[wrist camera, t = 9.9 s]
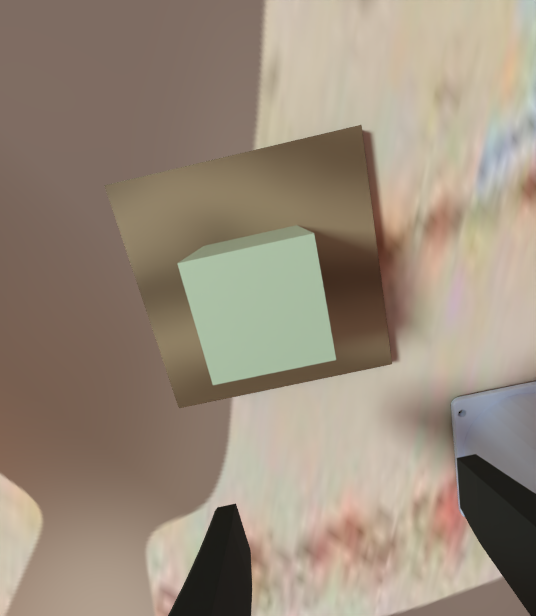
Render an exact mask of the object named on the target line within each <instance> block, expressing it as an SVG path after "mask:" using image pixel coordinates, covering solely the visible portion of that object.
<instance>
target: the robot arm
mask: <svg viewBox="0 0 536 616" xmlns="http://www.w3.org/2000/svg"><path fill="white" fill-rule="evenodd" d="M461 410H463V411H462V412H461V413H459V414H458V412H459V411H461ZM451 414H452V426H453V439H454V452H455V465H456V478H457V490H458V503H459V511H460V512H461V514H462V515H463V516H464V517H466V519H467V521H468V523H469V525H470V527H471V528H472V530H473V532H474V533H475V535H476V537H477V539H478V540H479V542H480V544H481V545H482V547H483V548H484V550H485V551H486V552H487V554H488V555H489V557H490V558H491V560H492V561H493V563H494V564H495V565H496V567H497V568H498V570H499V571H500V573H501V574H502V575H503V577H504V578H505V580H506V581H507V583H508V584H509V585H510V587H511V588H512V589H513V591H514V592H515V594H516V595H517V597H518V598H519V600H520V601H521V602H522V604H523V605H524V607H525V608H526V610H527V611H528V612H529V613H530V615H531V616H536V381H534V382H529V383H524V384H519V385H514V386H509V387H504V388H500V389H495V390H490V391H485V392H480V393H475V394H470V395H465V396H460V397H456V398H455V399H453V400H452V402H451ZM251 603H252V572H251V552H250V547H249V544H248V541H247V538H246V535H245V531H244V528H243V525H242V522H241V519H240V515H239V512H238V509H237V506H236V504H232V505H227V506H223V507H218V508H217V509H216V510H215V513H214V515H213V518H212V521H211V523H210V526H209V528H208V531H207V533H206V536H205V538H204V541H203V543H202V545H201V548H200V550H199V552H198V555H197V557H196V559H195V561H194V563H193V566H192V568H191V570H190V572H189V575H188V577H187V579H186V581H185V583H184V585H183V587H182V589H181V591H180V593H179V595H178V597H177V599H176V601H175V603H174V605H173V607H172V609H171V611H170V613H169V615H168V616H251Z"/></svg>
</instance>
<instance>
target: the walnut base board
mask: <svg viewBox="0 0 536 616" xmlns="http://www.w3.org/2000/svg"><path fill="white" fill-rule="evenodd" d="M105 189H106V192H107V195H108V197H109V201H110V204H111V206H112V209H113V212H114V215H115V218H116V221H117V224H118V227H119V230H120V233H121V236H122V239H123V242H124V245H125V248H126V251H127V254H128V257H129V260H130V263H131V266H132V269H133V272H134V275H135V278H136V281H137V284H138V287H139V290H140V293H141V296H142V299H143V302H144V305H145V308H146V311H147V314H148V317H149V320H150V323H151V326H152V329H153V332H154V335H155V338H156V341H157V344H158V347H159V350H160V353H161V356H162V359H163V362H164V365H165V367H166V371H167V374H168V377H169V380H170V383H171V386H172V389H173V391H174V395H175V398H176V401H177V403H178V407H179V408H182V407H187V406H192V405H197V404H202V403H207V402H211V401H216V400H221V399H226V398H231V397H236V396H240V395H245V394H250V393H255V392H260V391H265V390H269V389H274V388H279V387H284V386H289V385H293V384H298V383H303V382H308V381H313V380H318V379H322V378H327V377H332V376H337V375H342V374H347V373H351V372H356V371H361V370H366V369H371V368H375V367H380V366H385V365H390V364H392V360H391V352H390V344H389V336H388V329H387V321H386V313H385V305H384V298H383V290H382V282H381V274H380V266H379V259H378V251H377V243H376V235H375V227H374V220H373V212H372V204H371V196H370V188H369V181H368V173H367V165H366V157H365V150H364V142H363V134H362V126H361V125H359V126H355V127H350V128H346V129H342V130H338V131H334V132H329V133H325V134H321V135H317V136H312V137H308V138H304V139H300V140H295V141H291V142H287V143H283V144H278V145H274V146H270V147H266V148H261V149H257V150H253V151H249V152H245V153H240V154H236V155H232V156H228V157H223V158H219V159H215V160H211V161H206V162H202V163H198V164H194V165H189V166H185V167H181V168H177V169H173V170H168V171H164V172H160V173H156V174H151V175H147V176H143V177H139V178H134V179H131V180H126V181H122V182H117V183H113V184H109V185H105ZM296 225H297V226H300V227H302V228H304V229H306V230H308V231H311V232H313V233H314V235H315V241H316V247H317V252H318V258H319V264H320V270H321V275H322V281H323V287H324V292H325V298H326V304H327V310H328V315H329V321H330V327H331V333H332V338H333V344H334V350H335V356H336V360H333V361H329V362H324V363H319V364H314V365H309V366H304V367H300V368H295V369H290V370H285V371H280V372H275V373H270V374H266V375H261V376H256V377H251V378H246V379H241V380H236V381H232V382H227V383H222V384H217V385H213V384H212V381H211V377H210V374H209V370H208V367H207V363H206V360H205V357H204V353H203V350H202V346H201V343H200V339H199V336H198V333H197V329H196V326H195V322H194V319H193V316H192V312H191V309H190V305H189V302H188V298H187V295H186V292H185V288H184V285H183V281H182V278H181V274H180V271H179V268H178V264H177V263H179V262H180V261H182V260H183V259H185V258H186V257H188V256H189V255H191V254H192V253H194V252H195V251H197V250H198V249H200V248H201V247H203V246H206V245H210V244H215V243H219V242H224V241H228V240H233V239H237V238H242V237H246V236H251V235H255V234H260V233H264V232H269V231H273V230H278V229H282V228H287V227H291V226H296Z"/></svg>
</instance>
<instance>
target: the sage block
mask: <svg viewBox="0 0 536 616" xmlns="http://www.w3.org/2000/svg"><path fill="white" fill-rule="evenodd" d="M177 264H178V268H179V271H180V274H181V278H182V281H183V285H184V288H185V292H186V295H187V298H188V302H189V305H190V309H191V312H192V316H193V319H194V322H195V326H196V329H197V333H198V336H199V339H200V343H201V346H202V350H203V353H204V357H205V360H206V363H207V367H208V370H209V374H210V377H211V381H212V384H213V385H217V384H222V383H227V382H232V381H236V380H241V379H246V378H251V377H256V376H261V375H266V374H270V373H275V372H280V371H285V370H290V369H295V368H300V367H304V366H309V365H314V364H319V363H324V362H329V361H333V360H336V356H335V350H334V344H333V338H332V333H331V327H330V321H329V315H328V310H327V304H326V298H325V292H324V287H323V281H322V275H321V270H320V264H319V258H318V252H317V247H316V241H315V235H314V233H313V232H311V231H308V230H306V229H304V228H302V227H300V226H297V225H296V226H291V227H287V228H282V229H278V230H273V231H269V232H264V233H260V234H255V235H251V236H246V237H242V238H237V239H233V240H228V241H224V242H219V243H215V244H210V245H206V246H203V247H201V248H200V249H198V250H197V251H195V252H194V253H192V254H191V255H189V256H188V257H186V258H185V259H183V260H182V261H180V262H179V263H177Z"/></svg>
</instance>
